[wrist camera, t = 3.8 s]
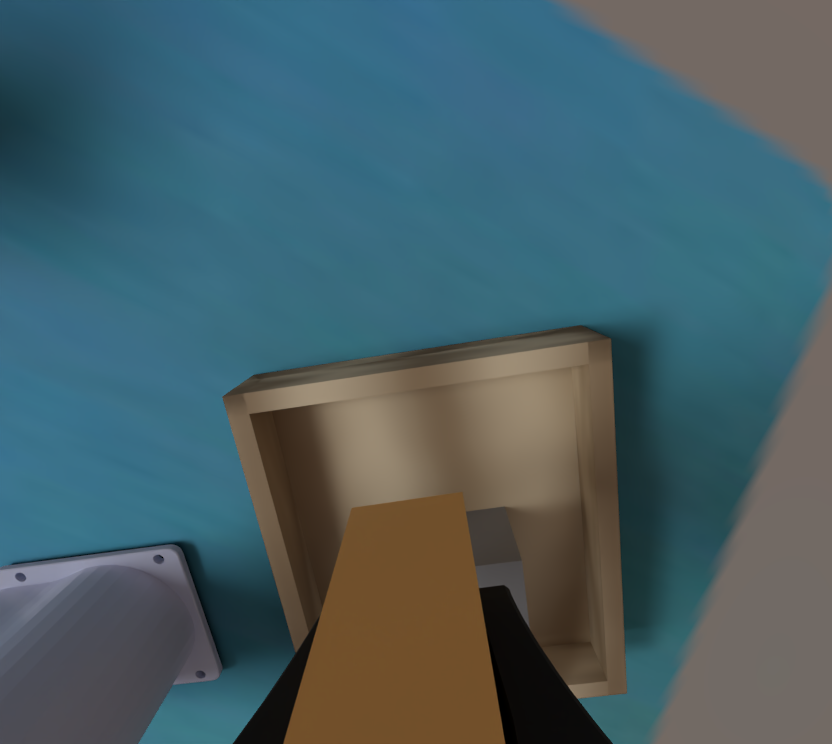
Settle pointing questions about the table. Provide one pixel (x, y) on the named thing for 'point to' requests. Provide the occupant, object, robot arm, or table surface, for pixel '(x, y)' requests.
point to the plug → (401, 635)
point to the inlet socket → (497, 554)
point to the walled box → (452, 473)
